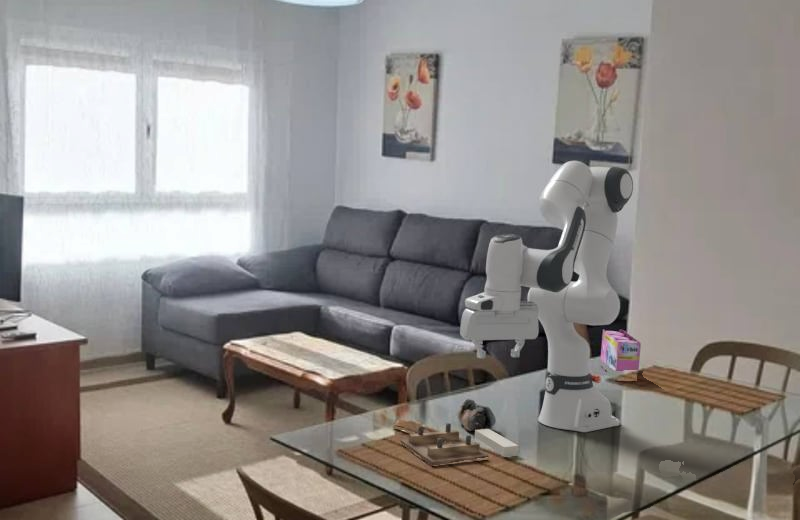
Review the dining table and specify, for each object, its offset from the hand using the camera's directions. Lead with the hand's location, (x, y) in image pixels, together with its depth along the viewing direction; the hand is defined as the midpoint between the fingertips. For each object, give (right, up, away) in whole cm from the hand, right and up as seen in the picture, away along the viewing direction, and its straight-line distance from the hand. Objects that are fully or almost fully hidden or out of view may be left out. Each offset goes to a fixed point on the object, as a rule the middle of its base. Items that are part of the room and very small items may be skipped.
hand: (498, 357), depth 213 cm
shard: (-20, -21, +14) cm, 32 cm away
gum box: (+51, -16, +89) cm, 104 cm away
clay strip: (0, -23, +2) cm, 23 cm away
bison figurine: (-5, -21, +17) cm, 28 cm away
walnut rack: (-14, -22, -3) cm, 26 cm away
